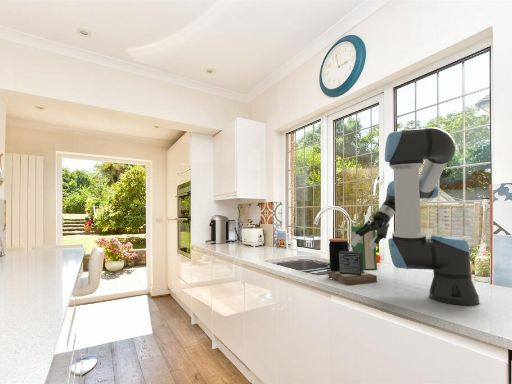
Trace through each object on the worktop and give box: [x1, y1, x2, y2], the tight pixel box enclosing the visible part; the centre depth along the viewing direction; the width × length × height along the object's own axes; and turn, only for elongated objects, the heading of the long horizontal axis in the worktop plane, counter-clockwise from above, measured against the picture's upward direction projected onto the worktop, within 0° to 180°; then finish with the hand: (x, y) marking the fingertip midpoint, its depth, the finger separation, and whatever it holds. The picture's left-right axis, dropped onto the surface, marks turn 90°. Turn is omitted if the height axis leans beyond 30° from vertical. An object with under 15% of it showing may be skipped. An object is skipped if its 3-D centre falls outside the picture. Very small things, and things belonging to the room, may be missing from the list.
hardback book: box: [350, 225, 378, 272], centre depth 167 cm, size 18×7×24 cm, turn 1°
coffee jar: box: [328, 237, 350, 272], centre depth 157 cm, size 11×11×18 cm
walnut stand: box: [328, 271, 378, 286], centre depth 137 cm, size 16×16×3 cm
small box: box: [338, 250, 365, 275], centre depth 137 cm, size 11×6×10 cm, turn 57°
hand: (361, 246), depth 140 cm, fingers open, 13 cm apart
